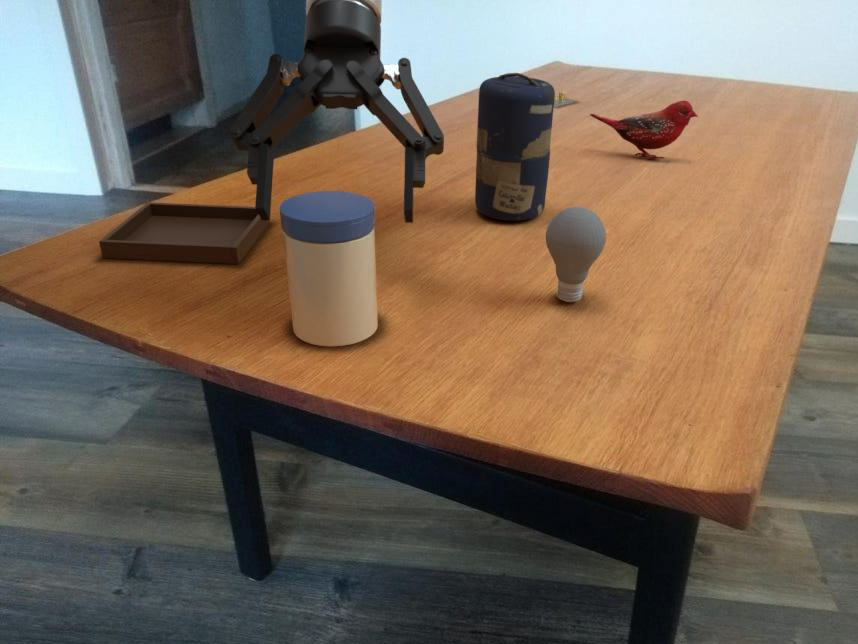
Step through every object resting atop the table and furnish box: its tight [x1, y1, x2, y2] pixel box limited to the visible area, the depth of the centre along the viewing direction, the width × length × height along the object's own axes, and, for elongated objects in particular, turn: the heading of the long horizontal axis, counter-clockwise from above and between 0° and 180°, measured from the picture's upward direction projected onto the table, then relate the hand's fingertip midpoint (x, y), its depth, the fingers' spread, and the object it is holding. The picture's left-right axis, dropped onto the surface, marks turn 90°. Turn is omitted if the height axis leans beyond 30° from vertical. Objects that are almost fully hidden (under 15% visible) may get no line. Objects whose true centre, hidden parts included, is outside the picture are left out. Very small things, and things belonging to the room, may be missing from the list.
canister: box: [474, 72, 556, 222], centre depth 96 cm, size 10×10×18 cm
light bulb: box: [545, 206, 607, 303], centre depth 76 cm, size 6×6×10 cm
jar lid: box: [279, 190, 376, 242], centre depth 66 cm, size 8×8×2 cm
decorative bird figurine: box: [589, 100, 698, 160], centre depth 125 cm, size 3×18×10 cm, turn 70°
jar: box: [282, 228, 379, 347], centre depth 69 cm, size 8×8×12 cm
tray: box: [98, 201, 271, 265], centre depth 88 cm, size 15×13×2 cm
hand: (336, 215), depth 70 cm, fingers open, 13 cm apart
